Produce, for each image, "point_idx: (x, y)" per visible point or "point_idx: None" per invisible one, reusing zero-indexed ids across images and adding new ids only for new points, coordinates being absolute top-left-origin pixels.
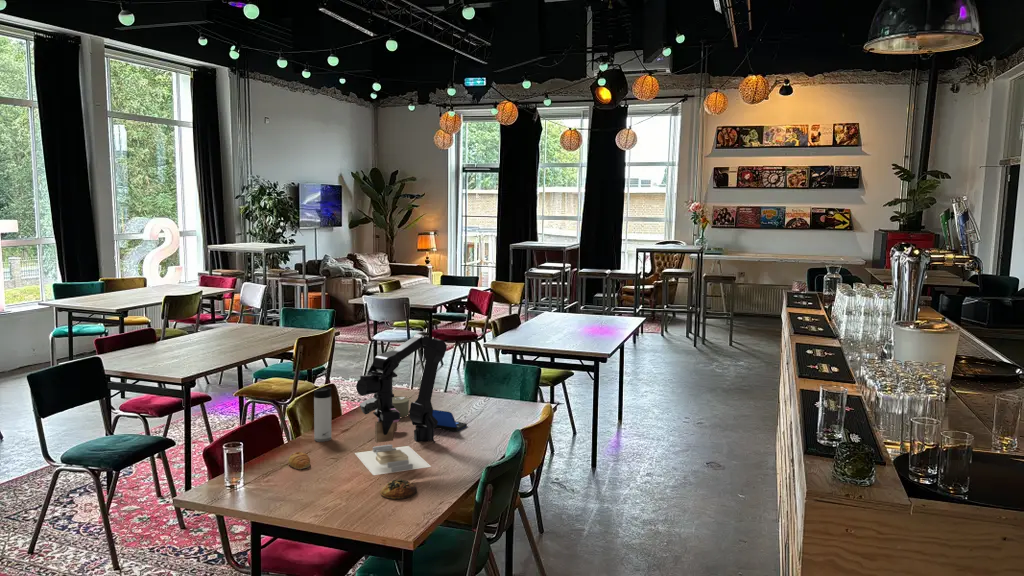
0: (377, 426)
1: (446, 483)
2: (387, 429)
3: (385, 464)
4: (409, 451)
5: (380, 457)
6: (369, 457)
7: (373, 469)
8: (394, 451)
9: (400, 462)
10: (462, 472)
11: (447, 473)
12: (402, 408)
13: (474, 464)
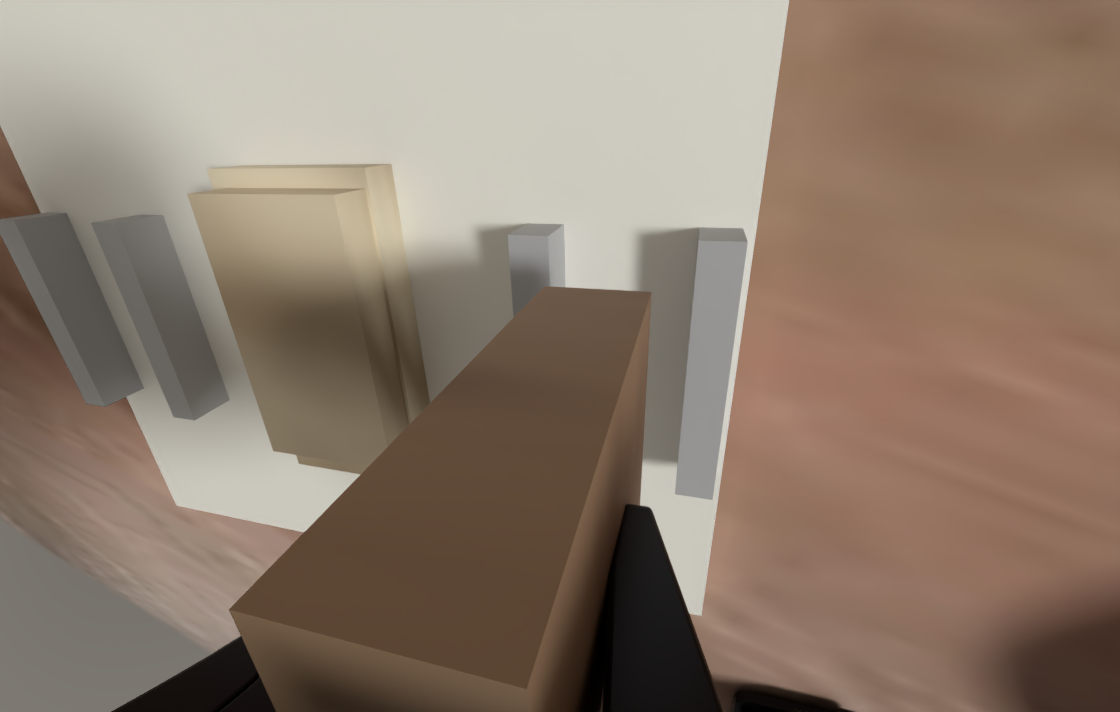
0: (357, 514)
1: (3, 452)
2: None
3: None
4: None
5: (222, 191)
6: (482, 100)
7: (84, 38)
8: (339, 401)
9: (151, 344)
10: (156, 584)
11: (139, 526)
12: None
13: None
